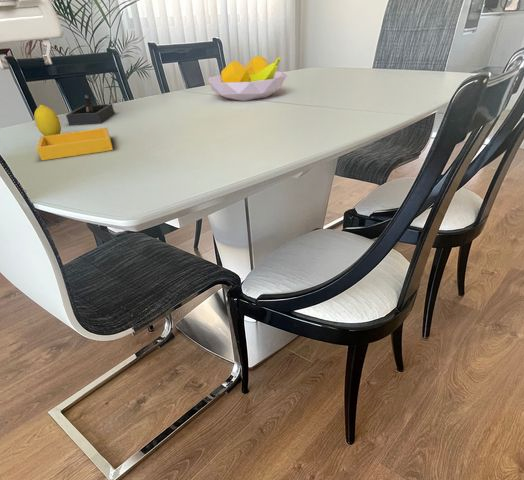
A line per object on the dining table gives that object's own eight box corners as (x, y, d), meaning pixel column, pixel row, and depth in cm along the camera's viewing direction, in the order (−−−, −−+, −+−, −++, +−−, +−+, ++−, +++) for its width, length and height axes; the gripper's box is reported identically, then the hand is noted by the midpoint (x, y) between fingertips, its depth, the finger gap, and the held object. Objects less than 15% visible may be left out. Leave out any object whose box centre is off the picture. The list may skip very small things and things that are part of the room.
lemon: (43, 144, 97) (28, 107, 92) (43, 140, 101) (29, 104, 95) (66, 141, 98) (53, 104, 93) (65, 136, 102) (52, 101, 97)
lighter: (90, 124, 120) (84, 107, 119) (96, 123, 121) (90, 106, 120) (87, 112, 113) (80, 93, 112) (94, 111, 113) (88, 92, 112)
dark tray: (101, 123, 113) (98, 112, 111) (69, 125, 113) (65, 115, 112) (114, 113, 123) (112, 104, 121) (85, 115, 123) (82, 105, 122)
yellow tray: (41, 160, 86) (36, 147, 84) (45, 148, 94) (40, 136, 92) (113, 150, 89) (109, 137, 87) (110, 139, 97) (107, 127, 96)
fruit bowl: (199, 97, 137) (194, 57, 130) (267, 87, 145) (266, 49, 137) (227, 109, 118) (222, 63, 110) (304, 97, 126) (305, 54, 118)
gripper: (-64, -13, 76) (-24, 73, 85) (46, -19, 80) (72, 63, 89) (-55, -11, 80) (-19, 70, 89) (48, -17, 85) (73, 61, 94)
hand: (27, 66), depth 89 cm, fingers open, 8 cm apart
